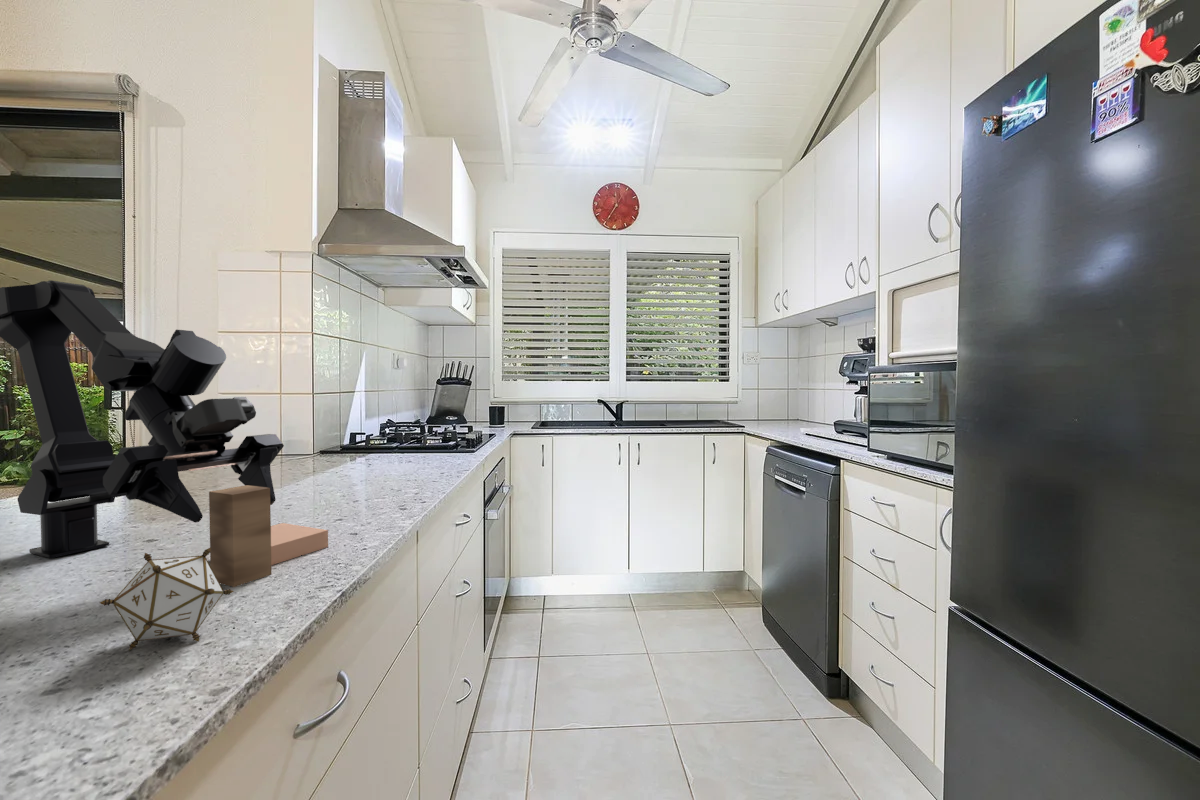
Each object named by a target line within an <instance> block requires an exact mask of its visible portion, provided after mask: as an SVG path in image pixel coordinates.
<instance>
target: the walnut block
mask: <svg viewBox="0 0 1200 800" xmlns="http://www.w3.org/2000/svg"><path fill="white" fill-rule="evenodd" d="M208 502H209V504H208V506H209V509H208V510H209V511H208V513H209V548H210V547H211V549H210V552H211V553H209V558H210V559H209V560H210V561H209V565H210V566H211V568H212V570H213V572H214V574H215V576H216V578H217V580H218V581H219V583H221V584H220V585H223V584H225V585H224V586H227V585H228V587H231V586H232V588H235V587H240V586H242V585H245V584H247V583H250V581H251V582H254V581H257V580H261V579H262V578H265V577H266V578H267V577H269V576H271V575H272V565H271V526H272V524H271V523H272V522H271V519H272V518H271V516H272V515H271V505H270V488H267V487H258V486H250V485H241V486H235V487H234V486H233V487H229V488H223V489H216V490H211V491H208ZM253 580H254V581H253ZM244 583H245V584H244ZM241 584H242V585H241Z"/></svg>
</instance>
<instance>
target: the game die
mask: <svg viewBox="0 0 1200 800" xmlns="http://www.w3.org/2000/svg"><path fill="white" fill-rule="evenodd" d="M210 549H211V547H210V546H209V547H208V548H206V549H204V551H202V554H201V555H195V556H194V555H193V556H180V557H179V556H177V557H169V558H168V557H167V558H155V559H152V554H151V553H147V552H144V555H143V559H144V561H147V562H146V563H145V564H144V565H143V566H142V568H141V569H139V571H138V572H137V573H136V574H135V575H134V577H132V579H131V580H130V581H129V582H128V583H127V584H126V586H124V588H122V590H121V591H120V592H119V593H118V594H117V595H116V597H115V598H114V599H110V598H109V599H107V598H105V599H104V600H102V601H100V602H99V604H100V605H103V606H110V605H113V606H114V608H115V610H116V611H117V612H118V615H119V616H120V618H121V619H122V620H123V622H124V624H125V625H126V627H127V629H128V630H129V632H130V633H131V635H132V637H133V639H134V640H133V641H131V643H130V644H128V645H129V648H128V651H131V650H133V649H135V648H137V646H138V645H139V642H143V641H149V640H156V639H157V640H159V639H165V638H174V637H183V636H191V639H193V640H192V641H196V642H200V638H201V635H200V634H199V633H197V631H198V629H199V628H200V627H201V625H202V624H203V623H204V621H205V620H206V619H207V617H208V616H209V614H210V613H211V611H212V610H213V609H214V607H215V606H216V605H217V603H218V602H219V600H220V599H221V597H223V595H225V596H227V595H228V596H229V595H231V594H232V593H234V592H235V591H234V590H232V589H231V588H228V589H227V588H226V589H225V590H224V589H223V587H222V586H221V585H222V584H220V583H219V581H218V580H217V578H216V576H215V574H214V572H213V570H212V568H211V566H210V562H209V561H208V559H207V556H210V553H211V552H210Z"/></svg>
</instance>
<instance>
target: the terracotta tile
mask: <svg viewBox="0 0 1200 800" xmlns="http://www.w3.org/2000/svg"><path fill="white" fill-rule="evenodd" d="M326 548H329V530H328V529H322V528H316V527H311V526H302V525H297V524H291V523H286V522H285V523H284V522H280V523H277V524H274V525H271V566H273V565H277V564H279V563H282V562H285V561H289V560H292V559H295V558H299V557H301V555H302V556H305V555H307V554H311V553H314V552H317V551H321V550H323V549H326Z"/></svg>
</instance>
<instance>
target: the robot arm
mask: <svg viewBox="0 0 1200 800" xmlns="http://www.w3.org/2000/svg"><path fill="white" fill-rule="evenodd" d="M71 334H73V335H74V336H75V337H76V338H77V339H78V340H79V341H80V342H81V343H82V345H84V346H85V347H86V349H88V350H89V351H90V353H91V354H92V356H93V357H94V359H93V363H92V365H91V370H92V371H93V373H94V375H95V376H96V377H97V379H98V380H99V382H100V383H101V385H102V386H103V387H104V388H105V389H106V390H108V391H111V392H134V393H133V395H132V396H131V397H130V399H129V403H128V407H127V408H126V409H125V412H124V419H125V421H141V422H142V423H143V425H144V427H146V429H147V430H148V432H149V433H150V435H151V438H150V439H149V441H148V443H147V444H148V445H138V446H137V445H136V446H129V447H122V448H120V451H118V453H117V454H116V456H114V450H113V449H114V448H113V445H112V443H110V441H109V440H107V439H105V440H102V439H101V440H99V439H97V438H95V437H94V436H93V435H91V433H90V431H89V427H88V424H87V419H86V417H85V412H84V409H83V405H82V402H81V398H80V396H79V395H80V394H79V392H78V391H79V390H78V388H77V384H76V383H77V382H76V380H75V377H74V373H73V369H72V365H71V363H70V358H69V356H68V352H67V348H66V342H67V341H68V339H69V337H70V336H71ZM0 338H1V339H2V340H4V341H5V342H6V343H8V344H9V345H10V346H11V347H13V348H14V349H15V350H16V351H17V353H18V356H19V361H20V364H21V368H22V372H23V375H24V380H25V383H26V387H27V390H28V395H29V398H30V402H31V406H32V409H33V412H34V416H35V419H36V420H35V421H36V424H37V427H38V431H39V436H40V438H41V439H40V440H41V447H40V448H39V450H38V452H37V453H36V455H35V456H34V458H33V460H32V462H31V463H30V466H31V467H30V469H31V476H30V477H29V479H28V481H27V482H26V483H25V486H24V487H23V488H22V490H21V492H20V493H19V495H18V497H17V502H18V507H19V511H20V513H23V514H30V515H36V516H40V517H39V518H40V546H38V547H34V548H30V549H29V553H30V554H32V555H38V556H41V557H44V558H48V559H53V558H57V557H58V558H59V557H64V556H67V555H72V554H76V553H81V552H84V551H90V550H96V549H99V548H104V547H108V546H110V541H107V540H101V539H98V508H97V507H98V505H100V504H107V503H108V504H110V503H114V502H115V500H116V498H119V497H123V496H124V497H125V498H126V499H128V500H129V501H132V500H138V501H141V502H143V503H146V504H149V505H152V506H155V507H159V508H161V509H163V510H166V511H167V512H171V513H173V514H175V515H176V516H179V517H181V518H184V519H186V520H189V521H190V522H193V523H200V522H201V521H202V519H203V517H204V516H203V513H202V511H201V509H200V506H199V505H198V504H197V502H196V501H195V499H194V498H193V497H192V495H191V493H190V491H189V490H188V488H187V487H186V486H185V485H184V483H183V482H182V480H181V478H180V475H179V472H186V471H189V472H191V471H192V472H193V471H200V470H201V471H202V470H207V469H213V468H220V467H228V466H230V468H231V469H232V470H233V472H234V473H235V474H238V475H239V476H238V478H237V480H238V481H239V482H241V483H242V484H243V486H245V485H250V486H258V487H267V488H270V506H272V505H274V503H276V495H275V493H276V492H275V489H274V485H273V479H272V474H271V473H272V472H271V464H272V463H273V462H274V460H275V459H276V457H277V456H278V455H279V453H280V452H281V451H282V450H283V448H284V447H285V445H284V443H283V442H282V441H281V440H280V438H279V437H278V436H277V434H275V433H274V434H273V433H266V434H255V435H246V436H245V438H244V439H243V440H242V442H241V443H240V444H239V446H238V447H237V448H230V449H229V448H228V449H226V446H225V444H226V443H230V442H231V441H232V439H233V437H234V434H233V433H232V431H233V430H236V428H238V427H240V426H242V425H245V424H247V423H248V422H250V421H251V420H253V419H255V417H256V416H257V415H256V414H257V412H256V409H255V406H254V404H253V403H252V402H251V401H250V400H249V398H248V397H246V396H234V397H232V398H231V397H230V398H208V399H205V400H202V401H199V402H198V403H197V404H196V403H195V402H194V400H192V397H191V396H197V395H201V394H202V393H204V392H206V389H207V388H208V387H209V385H210V384H211V382H212V381H213V379H214V378H215V377H216V375H217V373H218V372H219V370H220V369H221V368H222V366H223V364H224V363H225V361H226V359H227V355H226V352H225V351H224V349H223V348H222V347H220V346H218V345H217V344H215V343H214V342H212V341H210V340H207V339H206V338H203V337H200V336H198V335H196V334H195V331H193V330H184V329H175V331H174V332H173V333H172V335H171V337H170V340H169V342H168V344H167V345H166V347H165V349H164V348H163V347H161V346H160V345H158V344H157V343H154V342H152V341H149V340H146V339H144V338H140V337H138V336H137V335H135V334H133V333H132V332H131V331H129V330H128V328H127V327H125V325H124V324H122V323H121V322H120V321H119V319H118V318H117V317H115V315H113V314H112V313H111V312H110V311H109V310H108V309H107V308H106V307H105V306H104V304H103V303H102V302H100V301H99V300H98V298H96V295H95V292H94V290H93V288H90V287H87V286H85V285H84V284H79V283H72V282H64V281H58V280H51V279H49V280H46V281H45V280H43V281H42V280H41V281H39V282H36V283H34V284H23V285H22V284H21V285H14V286H1V287H0Z"/></svg>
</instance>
